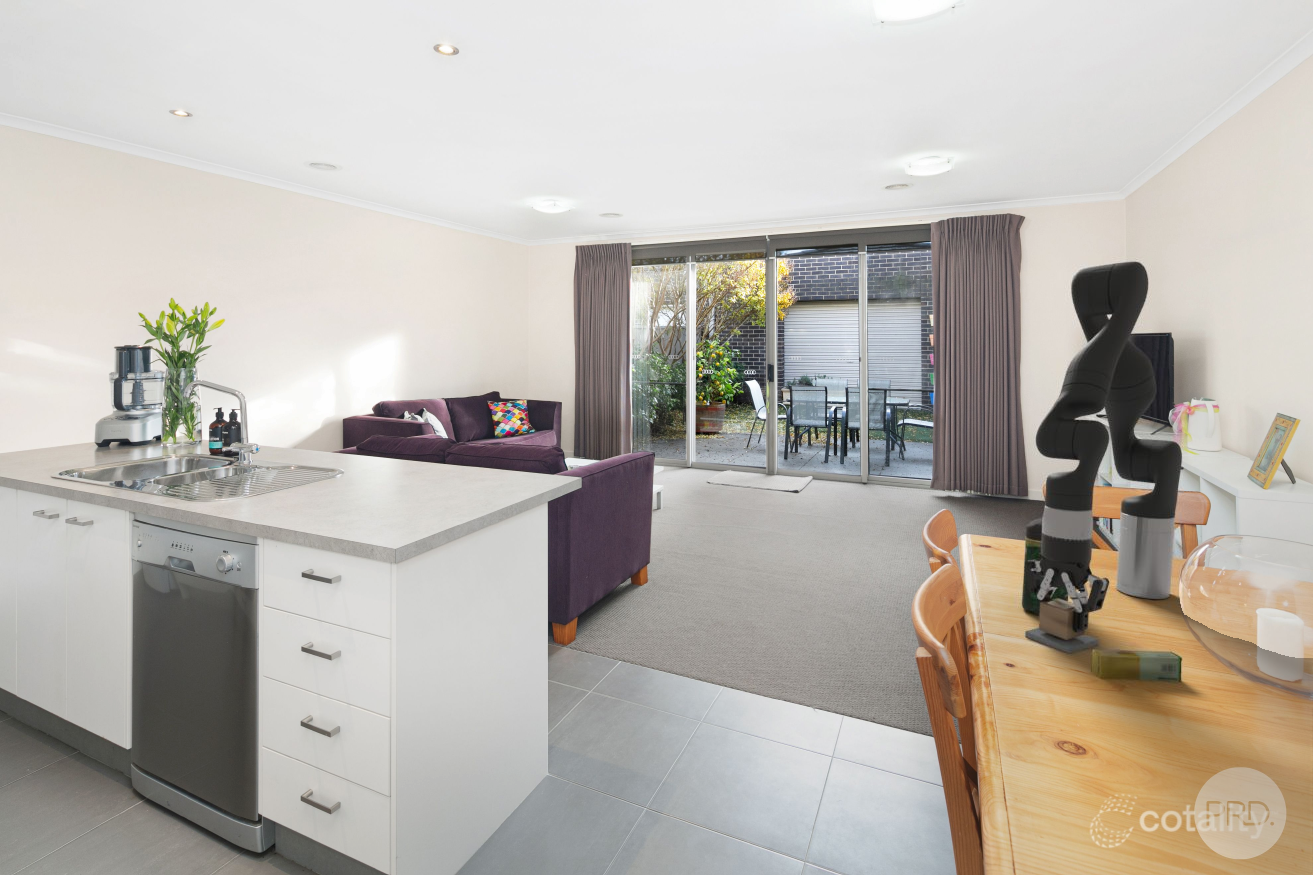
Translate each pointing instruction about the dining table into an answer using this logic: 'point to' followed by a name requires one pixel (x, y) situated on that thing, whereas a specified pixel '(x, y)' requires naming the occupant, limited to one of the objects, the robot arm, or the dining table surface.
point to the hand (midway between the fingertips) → (1061, 624)
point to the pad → (1062, 641)
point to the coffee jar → (1034, 552)
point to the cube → (1058, 618)
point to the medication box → (1137, 665)
